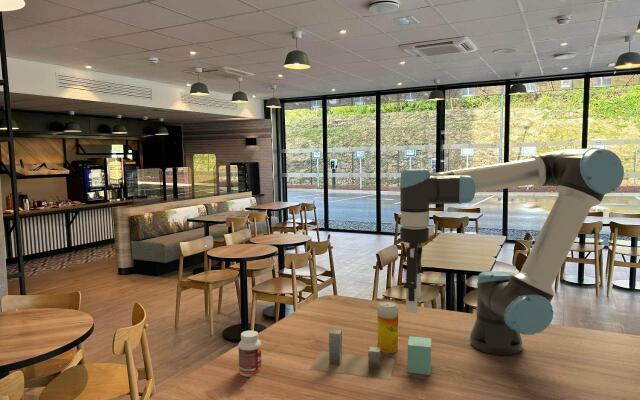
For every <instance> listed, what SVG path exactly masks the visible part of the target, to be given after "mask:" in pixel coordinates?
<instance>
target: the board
mask: <svg viewBox="0 0 640 400" xmlns="http://www.w3.org/2000/svg"><path fill="white" fill-rule="evenodd" d="M395 360H396V359H395V358H386V357H381V366H380V369H379V370H376V369H368V355H359V354H358V355H357V354H350V353H342V362H341V364H340V365H332V364H329V351H324V350H323V351H319V353H318V354H317V356H316V358H315V359H314V361H313V363H312V365H311V366H310V368H309V371H316V372H325V373H333V374H340V375H349V376H358V377H359V376H360V377H367V378H375V379H383V380H391V379H392V374H393V369H394V366H395Z"/></svg>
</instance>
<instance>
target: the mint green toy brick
mask: <svg viewBox="0 0 640 400" xmlns="http://www.w3.org/2000/svg"><path fill="white" fill-rule="evenodd" d="M407 342H408V343H407V362H406V363H407V365H406V366H407V371H406V372H407V373H411V374H417V375H418V374H419V375H429V376H430V375H431V369H432V338H430V337H421V336H411V335H410V336H409V338H408V341H407Z"/></svg>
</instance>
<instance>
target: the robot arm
mask: <svg viewBox="0 0 640 400" xmlns="http://www.w3.org/2000/svg"><path fill="white" fill-rule="evenodd" d="M624 169H625V168H624V165H623V163H622V159H620V157H619V156H618V155H617V153H615V152H614V151H611V150H609V149H606V148H599V147H591V148H590V147H589V148H572V147H571V148H564V149H563V148H562V149H559V150H556V151H550V152H546V153H545V152H544V153H542V154H536V155H535V154H534V155H531V156H530V157H529V159H524V160H516V161H509V162H503V163H495V164H489V165H481V166H474V167H467V168H461V169H460V168H459V169H453V170H447V171H446V170H445V171H439V172H434V171H432V172H430V170H429V169H428V168H405V169H403V170H402V171H401V174H400V184H399V189H400V191H399V193H400V198H399V199H400V200H399V201H400V212H399V213H398V215H397V217H398V218H400V223H399V224H400V226H401V227H400V229H399V234H400V235H399V240H400V242H402V243H407V244H408V246H407V248H406V249H405V251H406V252H405V254H406V260H405V262H406V273H405V274H406V276H405V284H403V289H405V293H406V294H405V296H406V297H405V312H406V313H409V314H412V313H413V314H417V313H418V297H422V290H421V289H422V274H424V269H422V267H423V266H422V258H423V257H422V255H423V247H422V245H421V244H424V243H427V242H429V239H430V235H429V234H430V229H429V227H428V226H429V225H430V205H436V204H437V205H439V204H440V205H441V204H442V205H443V204H447V205H448V204H450V205H451V204H456V205H457V204H459V205H461V204H469V203H472V201H474V199H475V194H476V193H483V192H490V191H496V190H504V189H510V188H518V187H525V186H534V187H536V188H542V187H555V189H556V191H557V194H558V196H557V198H556V199H555V202H554V203H553V206H552V208H551V210H550V211H549V213H548V216H547V218H546V219H545V222H544V223H543V226H542V228H541V229H540V232H539V234H538V236H537V238H536V240H535V242H534V243H533V246H532V248H531V249H530V252H529V253H528V255H527V258H526V260H525V261H524V263H523V266H522V268H521V270H520V271H519V272H516V273H515V272H512V271H504V270H503V271H501V270H500V271H499V270H490V271H489V270H488V271H483V272H480V273H479V274H478V276H477V282H476V285H477V288H476V289H477V290H476V318H475V322H474V323H473V326H472V328H471V331H470V334H469V343H470V345H471V346H472V347H473V348H474V349H476V350H479V351H480V352H483V353H487V354H491V355H498V356H510V355H511V356H512V355H515V354H518V353H521V351H522V350H523V340H522V337H521V334H522V335H524V336H526V335H527V336H533V335H536V334H540V333H541V332H544V331H545V330H546V329H547V328H548V327H549V326H550V325H551V323H552V322H553V319H554V315H555V314H554V312H555V311H554V310H553V308H554V307H553V306H552V303H551V302H552V300H553V298H554V297H555V292H554V290H553V287H552V286H553V284H554V282H555V280H556V279H557V276H558V274H559V272H560V271H561V268H562V267H563V264H564V263H565V261H566V258H567V256H568V254H569V252H570V250H571V249H572V247H573V244H574V242H575V240H576V238H577V236H578V234H579V233H580V230H581V228H582V227H583V225H584V222H585V221H586V219H587V216H588V214H589V213H590V210H591V209H592V207H595V206H598V205H601V203H602V201H603V199H604V198H605V195H607V194H610V193H612V192H615V191H616V190H618V188H619V187H620V186H621V184H622V183H623V181H624V175H625V170H624Z"/></svg>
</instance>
